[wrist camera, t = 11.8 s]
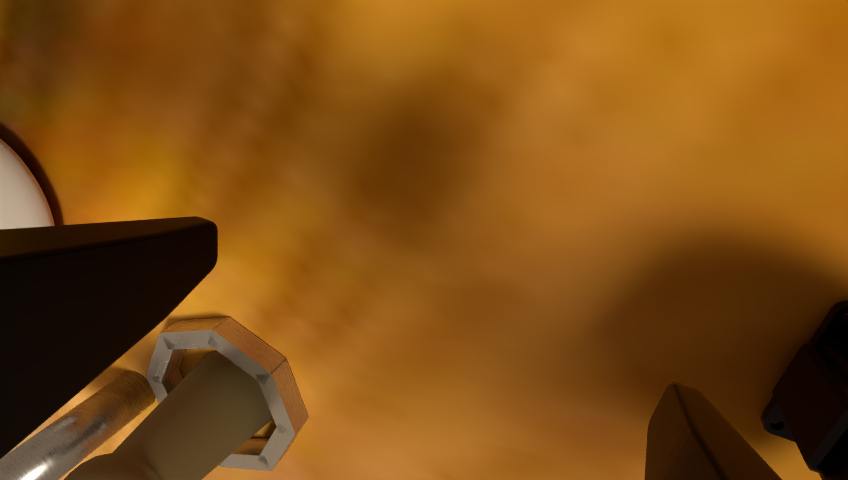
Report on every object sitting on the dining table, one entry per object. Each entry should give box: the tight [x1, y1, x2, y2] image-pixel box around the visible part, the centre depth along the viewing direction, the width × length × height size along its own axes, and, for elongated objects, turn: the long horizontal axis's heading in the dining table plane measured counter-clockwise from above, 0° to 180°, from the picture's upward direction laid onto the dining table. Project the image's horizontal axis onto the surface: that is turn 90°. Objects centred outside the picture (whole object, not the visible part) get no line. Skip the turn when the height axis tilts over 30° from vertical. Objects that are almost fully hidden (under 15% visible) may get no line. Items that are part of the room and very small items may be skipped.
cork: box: [64, 351, 272, 480], centre depth 27 cm, size 6×6×11 cm
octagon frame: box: [0, 317, 308, 480], centre depth 29 cm, size 16×10×9 cm, turn 105°
